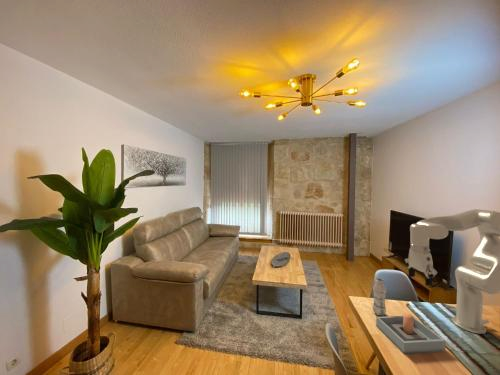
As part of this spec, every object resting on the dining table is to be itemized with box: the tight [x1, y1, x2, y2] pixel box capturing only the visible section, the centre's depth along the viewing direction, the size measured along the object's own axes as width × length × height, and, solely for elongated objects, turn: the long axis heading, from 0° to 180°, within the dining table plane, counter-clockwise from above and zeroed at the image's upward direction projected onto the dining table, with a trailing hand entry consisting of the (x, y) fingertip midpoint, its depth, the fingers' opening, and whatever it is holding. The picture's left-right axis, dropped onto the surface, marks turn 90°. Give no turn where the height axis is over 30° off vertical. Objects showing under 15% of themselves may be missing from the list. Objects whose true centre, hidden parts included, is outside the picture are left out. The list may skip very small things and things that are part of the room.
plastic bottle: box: [372, 278, 387, 317], centre depth 122 cm, size 6×7×20 cm
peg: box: [402, 312, 415, 335], centre depth 103 cm, size 4×4×10 cm
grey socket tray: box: [375, 315, 446, 355], centre depth 103 cm, size 20×18×5 cm
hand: (419, 280), depth 109 cm, fingers open, 9 cm apart
